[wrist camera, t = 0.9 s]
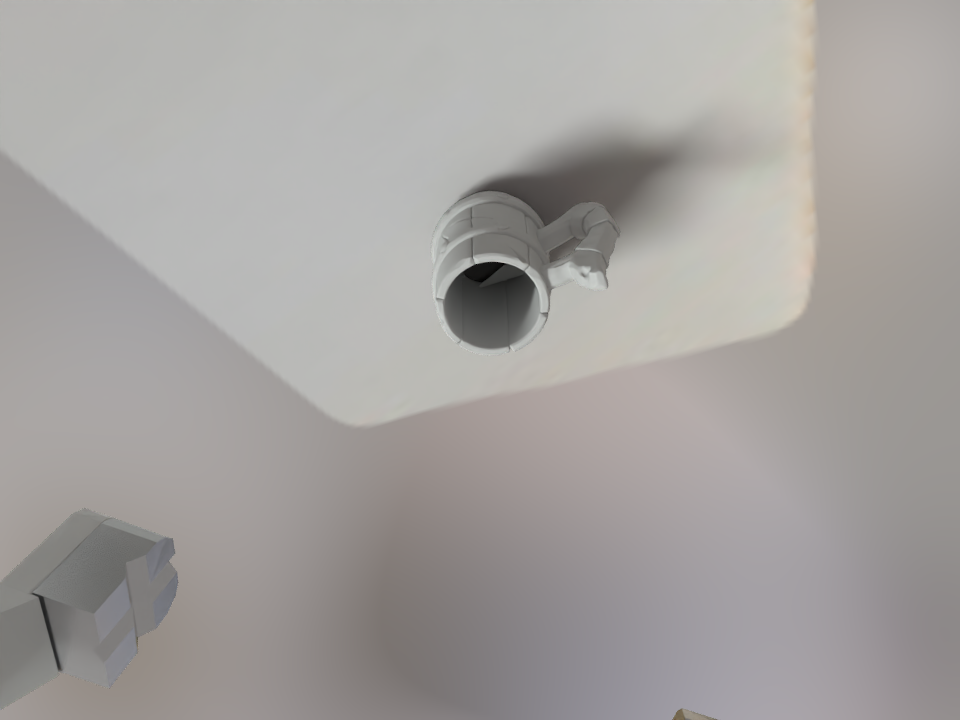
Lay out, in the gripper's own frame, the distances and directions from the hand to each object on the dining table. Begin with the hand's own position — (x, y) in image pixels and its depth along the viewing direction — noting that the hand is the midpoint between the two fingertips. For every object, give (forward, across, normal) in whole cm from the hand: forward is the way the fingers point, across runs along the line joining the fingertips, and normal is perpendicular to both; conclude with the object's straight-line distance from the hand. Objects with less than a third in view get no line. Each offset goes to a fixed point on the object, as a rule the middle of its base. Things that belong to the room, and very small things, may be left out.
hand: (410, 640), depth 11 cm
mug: (+38, +5, +9) cm, 40 cm away
